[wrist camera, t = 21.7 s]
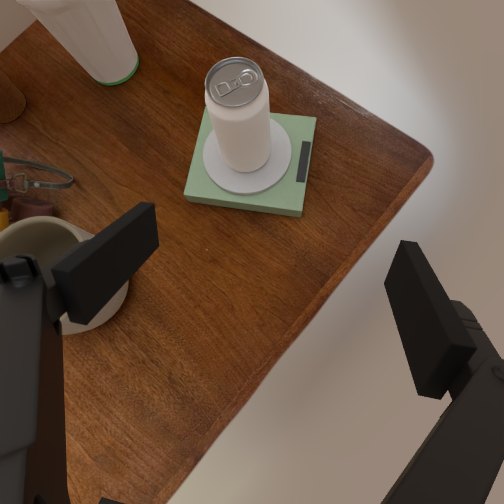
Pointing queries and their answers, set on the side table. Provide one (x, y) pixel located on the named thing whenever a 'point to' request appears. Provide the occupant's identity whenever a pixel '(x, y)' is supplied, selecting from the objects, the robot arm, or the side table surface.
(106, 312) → the planter
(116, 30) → the cup
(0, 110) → the disposable coffee cup
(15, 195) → the binoculars
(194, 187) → the scale
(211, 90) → the can
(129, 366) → the side table surface
